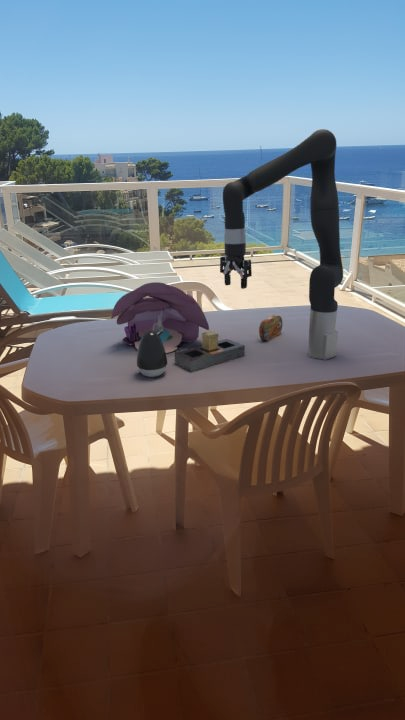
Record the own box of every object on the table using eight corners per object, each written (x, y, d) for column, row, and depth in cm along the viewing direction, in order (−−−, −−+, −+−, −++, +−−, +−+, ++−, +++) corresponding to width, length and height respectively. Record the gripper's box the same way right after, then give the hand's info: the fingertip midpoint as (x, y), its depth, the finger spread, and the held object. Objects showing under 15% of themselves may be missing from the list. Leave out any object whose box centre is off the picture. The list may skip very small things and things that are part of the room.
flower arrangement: (122, 370, 183) (109, 302, 168) (113, 339, 202) (101, 275, 187) (212, 351, 190) (207, 284, 174) (195, 323, 209) (190, 260, 193)
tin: (264, 343, 194) (264, 322, 191) (257, 341, 195) (257, 321, 192) (282, 333, 205) (283, 313, 202) (276, 331, 207) (276, 312, 203)
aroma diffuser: (174, 373, 167) (172, 330, 162) (151, 382, 160) (149, 338, 155) (153, 365, 174) (151, 324, 168) (131, 374, 167) (128, 332, 161)
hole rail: (227, 348, 189) (227, 338, 187) (244, 355, 181) (244, 345, 180) (175, 363, 175) (174, 352, 174) (191, 372, 168) (191, 360, 166)
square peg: (218, 357, 178) (217, 333, 174) (209, 359, 175) (208, 335, 172) (211, 354, 181) (210, 330, 177) (202, 356, 178) (202, 333, 175)
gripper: (256, 242, 172) (256, 287, 178) (229, 238, 182) (230, 282, 188) (241, 244, 167) (241, 291, 173) (213, 241, 178) (215, 285, 184)
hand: (235, 286), depth 181 cm, fingers open, 8 cm apart
